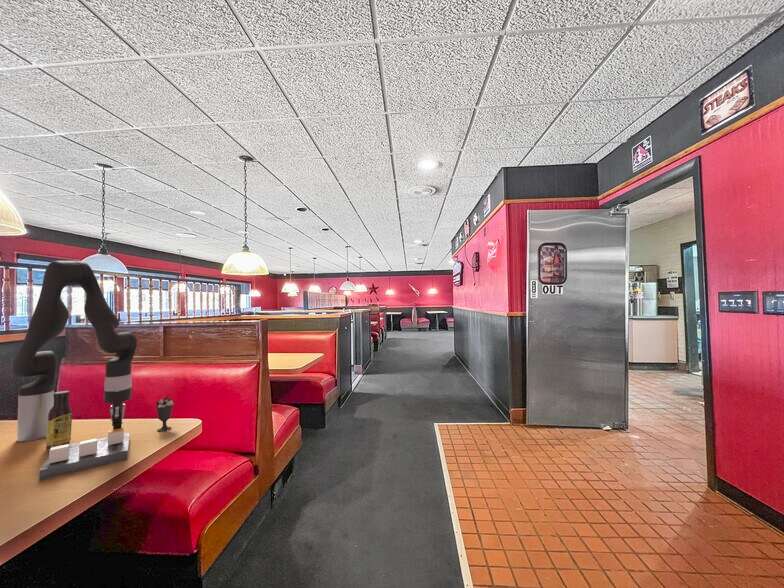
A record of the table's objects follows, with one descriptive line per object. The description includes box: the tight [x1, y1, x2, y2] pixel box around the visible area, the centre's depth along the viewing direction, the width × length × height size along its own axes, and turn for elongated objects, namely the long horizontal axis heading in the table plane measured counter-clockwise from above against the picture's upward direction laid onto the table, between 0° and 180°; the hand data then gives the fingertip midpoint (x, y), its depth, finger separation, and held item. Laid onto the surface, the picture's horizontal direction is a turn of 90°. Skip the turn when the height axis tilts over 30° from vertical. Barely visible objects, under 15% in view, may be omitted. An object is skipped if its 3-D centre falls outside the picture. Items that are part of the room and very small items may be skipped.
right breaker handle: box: [48, 443, 71, 463], centre depth 97 cm, size 2×4×4 cm, turn 128°
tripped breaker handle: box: [107, 427, 125, 445], centre depth 109 cm, size 2×4×4 cm, turn 129°
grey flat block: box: [38, 432, 131, 481], centre depth 105 cm, size 18×20×3 cm
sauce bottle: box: [45, 390, 73, 451], centre depth 113 cm, size 7×6×20 cm
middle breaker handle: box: [79, 438, 98, 457], centre depth 102 cm, size 2×4×4 cm, turn 129°
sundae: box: [154, 394, 175, 433], centre depth 129 cm, size 7×7×15 cm
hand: (117, 435), depth 112 cm, fingers closed
